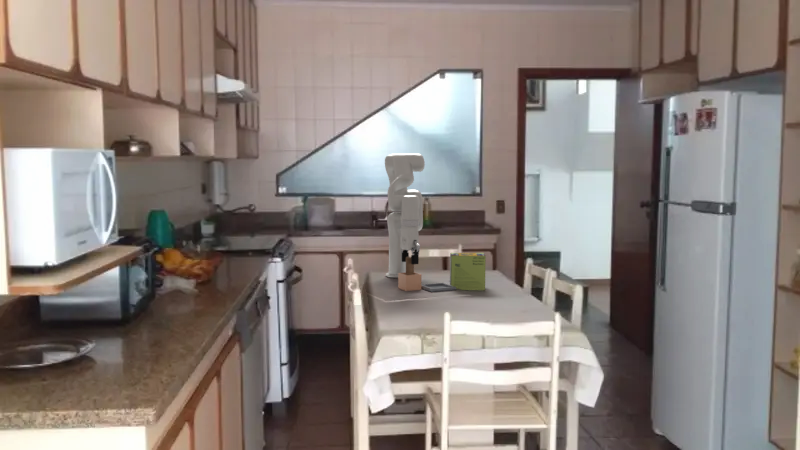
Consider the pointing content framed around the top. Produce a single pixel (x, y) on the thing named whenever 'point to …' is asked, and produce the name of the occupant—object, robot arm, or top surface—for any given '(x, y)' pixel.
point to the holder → (409, 281)
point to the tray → (437, 287)
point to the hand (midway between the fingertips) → (410, 262)
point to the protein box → (467, 271)
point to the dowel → (409, 266)
